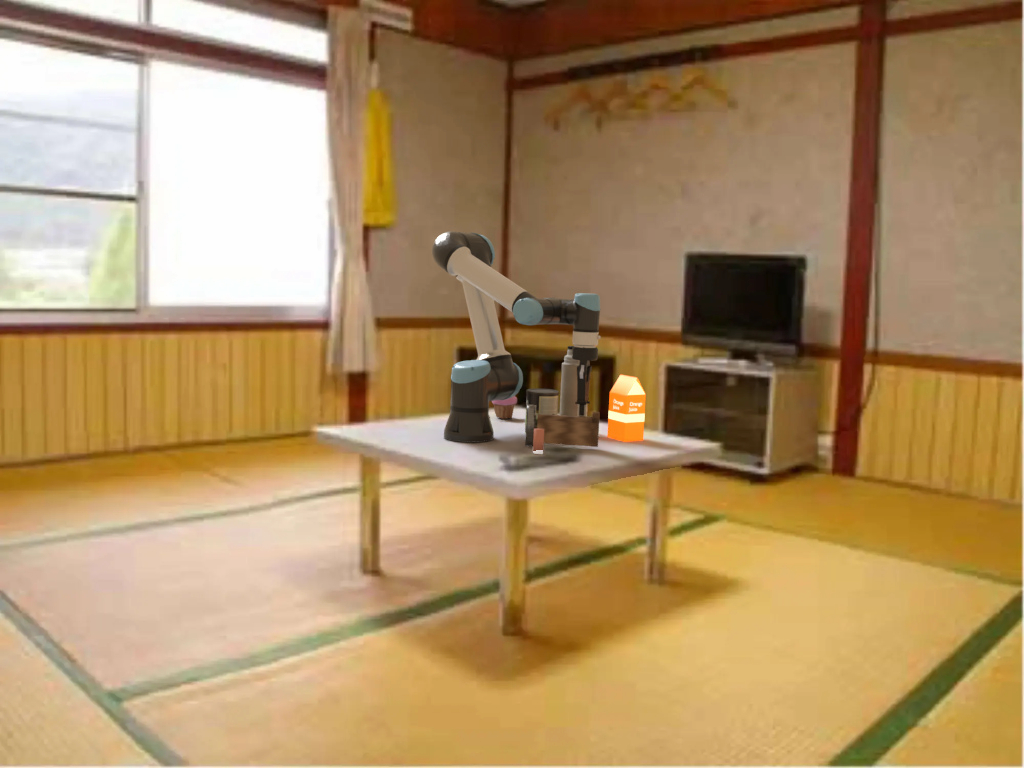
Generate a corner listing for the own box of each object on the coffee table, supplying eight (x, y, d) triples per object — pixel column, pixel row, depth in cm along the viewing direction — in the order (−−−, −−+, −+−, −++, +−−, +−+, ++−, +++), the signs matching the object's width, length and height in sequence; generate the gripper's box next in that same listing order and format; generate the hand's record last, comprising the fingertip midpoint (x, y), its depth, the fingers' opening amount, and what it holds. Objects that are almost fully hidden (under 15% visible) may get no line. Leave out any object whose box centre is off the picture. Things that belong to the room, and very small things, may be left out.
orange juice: (624, 441, 291) (627, 377, 289) (606, 437, 298) (610, 374, 296) (643, 440, 295) (647, 377, 293) (626, 435, 303) (629, 374, 300)
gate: (536, 443, 277) (537, 409, 276) (537, 441, 279) (538, 408, 278) (597, 446, 275) (599, 413, 274) (597, 445, 277) (599, 411, 276)
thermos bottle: (559, 429, 309) (563, 344, 306) (583, 430, 309) (587, 345, 305) (558, 433, 301) (562, 346, 298) (583, 434, 301) (587, 347, 297)
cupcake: (520, 419, 327) (521, 391, 326) (498, 420, 322) (499, 391, 321) (507, 415, 334) (509, 388, 333) (486, 416, 330) (487, 388, 329)
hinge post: (526, 446, 277) (527, 405, 276) (524, 444, 280) (526, 404, 278) (535, 446, 277) (537, 406, 276) (533, 444, 280) (535, 404, 279)
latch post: (533, 454, 265) (534, 430, 264) (531, 452, 268) (532, 428, 267) (544, 454, 265) (545, 430, 264) (542, 452, 268) (543, 428, 267)
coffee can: (521, 435, 294) (523, 391, 293) (528, 430, 304) (530, 387, 303) (553, 438, 292) (555, 393, 291) (559, 433, 302) (561, 389, 301)
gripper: (595, 348, 268) (591, 430, 271) (600, 345, 281) (596, 423, 284) (569, 347, 270) (565, 428, 272) (575, 344, 282) (572, 421, 285)
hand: (581, 425), depth 278 cm, fingers closed
